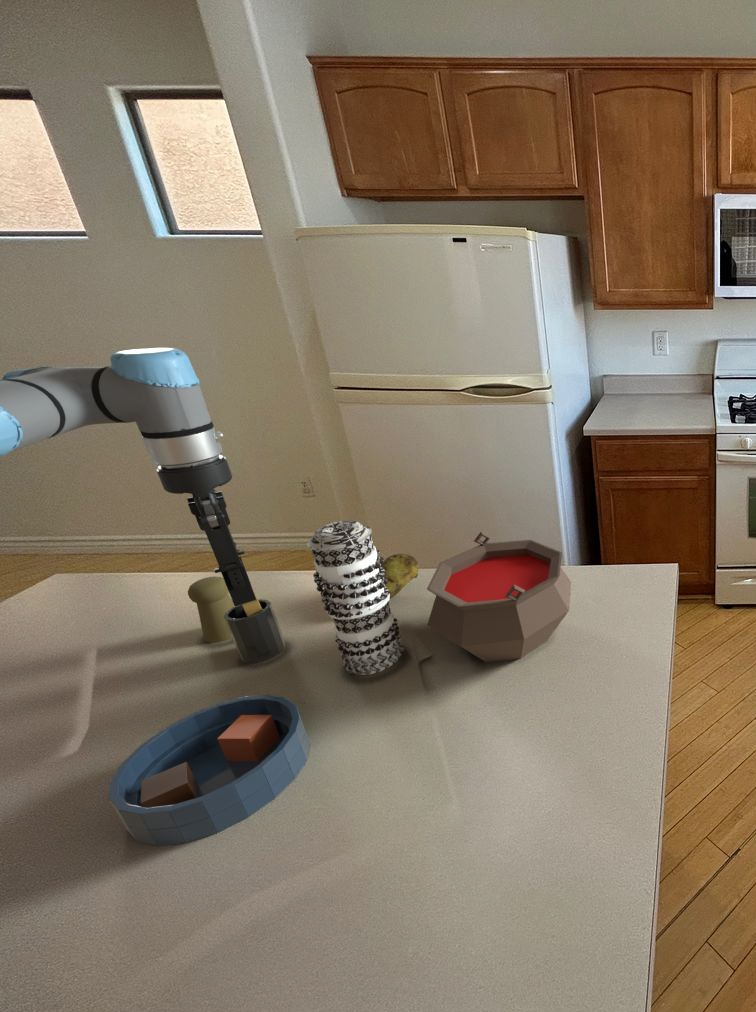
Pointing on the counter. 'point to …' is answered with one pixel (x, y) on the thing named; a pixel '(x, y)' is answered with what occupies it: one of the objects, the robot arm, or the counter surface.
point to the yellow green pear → (399, 571)
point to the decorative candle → (356, 596)
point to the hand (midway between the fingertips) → (244, 598)
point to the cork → (212, 607)
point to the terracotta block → (249, 738)
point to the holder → (255, 633)
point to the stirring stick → (252, 607)
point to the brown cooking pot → (500, 598)
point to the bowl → (209, 772)
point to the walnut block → (169, 787)
